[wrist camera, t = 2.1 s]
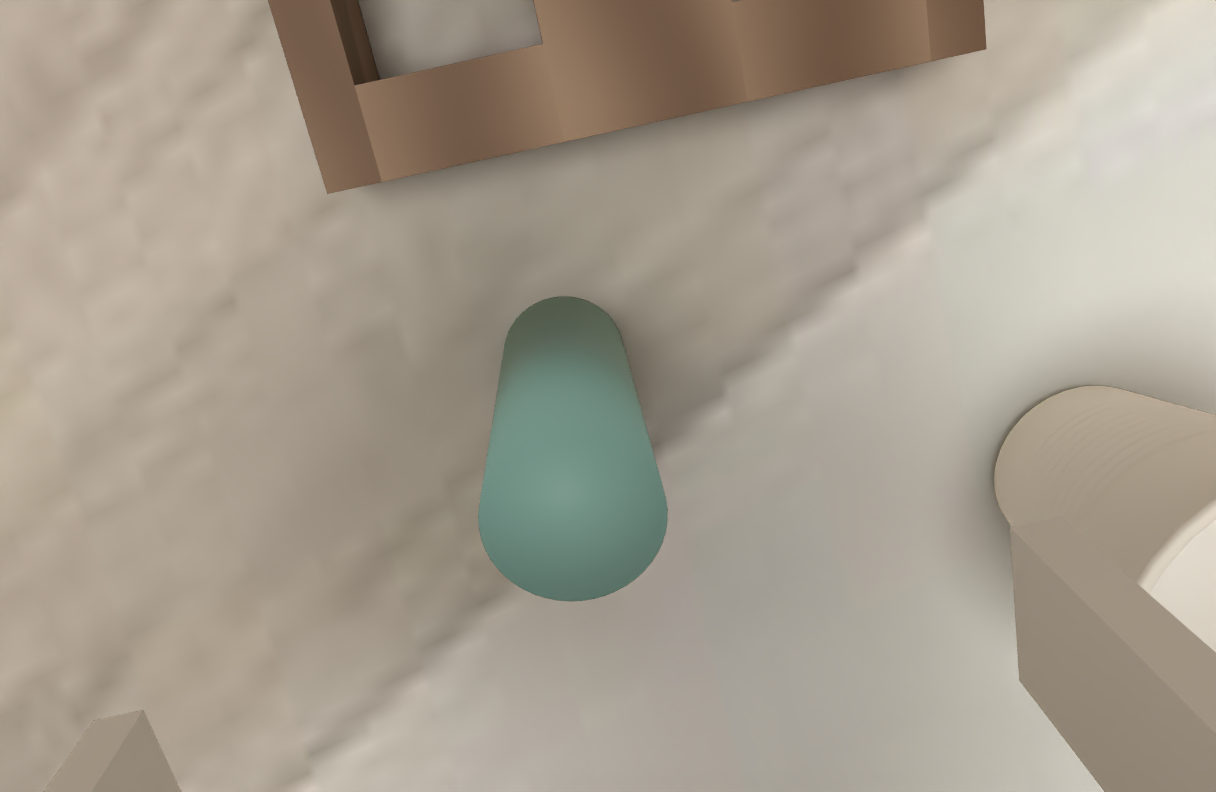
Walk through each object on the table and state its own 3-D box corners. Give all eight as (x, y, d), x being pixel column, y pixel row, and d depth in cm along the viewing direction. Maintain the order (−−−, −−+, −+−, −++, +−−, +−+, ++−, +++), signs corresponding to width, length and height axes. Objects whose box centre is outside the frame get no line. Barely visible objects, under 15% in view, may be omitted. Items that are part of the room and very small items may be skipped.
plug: (519, 422, 32) (503, 617, 20) (490, 310, 30) (456, 453, 19) (634, 397, 31) (682, 580, 20) (610, 284, 30) (648, 412, 19)
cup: (937, 599, 35) (1102, 822, 25) (936, 350, 32) (1126, 486, 21) (1194, 563, 35) (1465, 768, 25) (1220, 311, 32) (1546, 427, 21)
